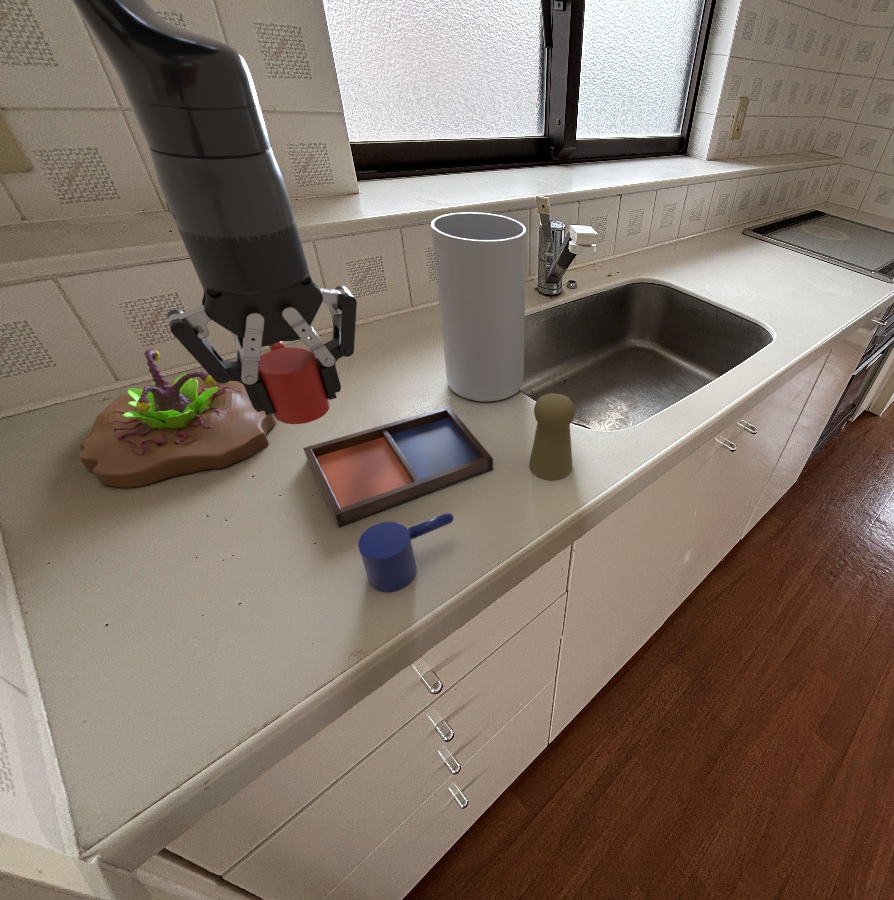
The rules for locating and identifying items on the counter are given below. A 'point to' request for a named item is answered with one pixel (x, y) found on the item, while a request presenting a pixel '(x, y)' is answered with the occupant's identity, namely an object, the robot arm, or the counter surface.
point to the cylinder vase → (481, 302)
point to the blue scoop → (394, 552)
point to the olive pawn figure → (552, 437)
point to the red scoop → (293, 384)
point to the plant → (173, 429)
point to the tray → (395, 463)
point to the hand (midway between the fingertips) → (300, 401)
